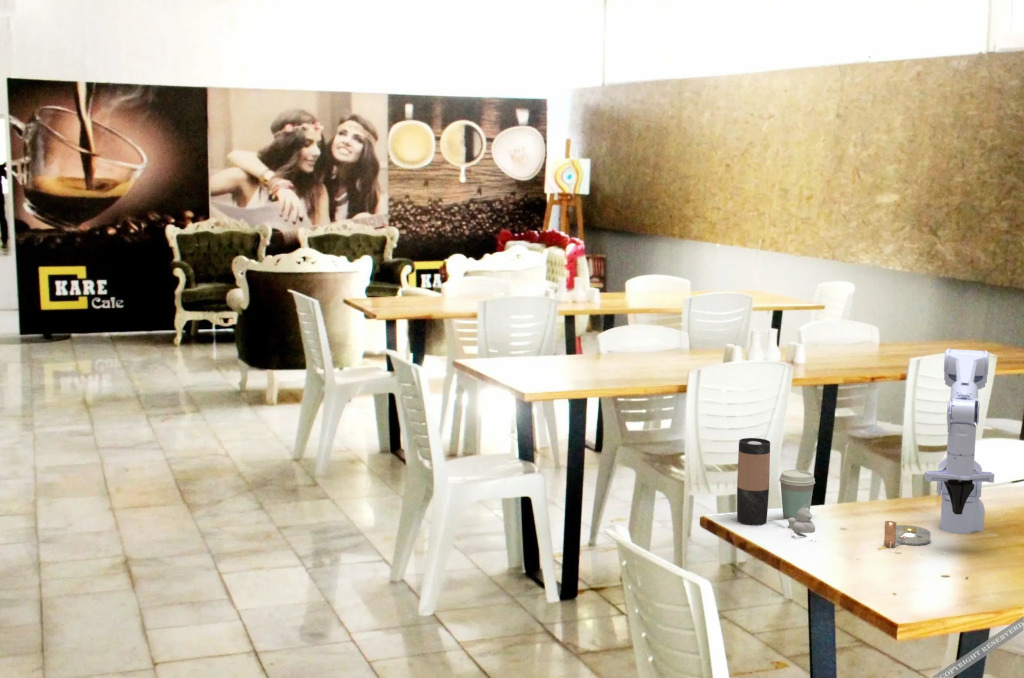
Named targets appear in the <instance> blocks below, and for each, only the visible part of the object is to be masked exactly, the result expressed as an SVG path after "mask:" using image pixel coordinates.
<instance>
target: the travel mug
mask: <svg viewBox="0 0 1024 678" xmlns="http://www.w3.org/2000/svg"><path fill="white" fill-rule="evenodd" d="M738 441H739V442H738V455H737V479H736V520H737V522H738V523H739V522H740V523H739V524H741V525H747V526H762V525H765V524H767V521H768V508H769V494H770V492H769V491H770V471H771V470H770V467H771V466H770V464H771V462H770V461H771V441H770V440H768V439H765V438H757V437H745V438H740V439H739V440H738Z"/></svg>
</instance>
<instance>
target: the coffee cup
mask: <svg viewBox="0 0 1024 678" xmlns="http://www.w3.org/2000/svg"><path fill="white" fill-rule="evenodd" d="M815 480H816V478H815V477H814V473H813V472H811V471H808V470H802V469H785V470H782V471H781V474H780V476H779V480H778V481H779V482H780V493H781V494H780V495H781V504H782V507H781V508H782V517H783V520H788V519H789V518H791V517H793V518H796V519H797V516H796V514H797V512H798V510H799V509H801V508H802V507H804V505H805V504H806V507H807V508H808V509H809V511H811V505H812V497H813V491H814V485H815V484H816V481H815Z"/></svg>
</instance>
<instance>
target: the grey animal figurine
mask: <svg viewBox="0 0 1024 678" xmlns="http://www.w3.org/2000/svg"><path fill="white" fill-rule="evenodd" d="M810 511H811V510H810ZM810 511H809V509H808V508H807V507H806V504H805V505H804V507H802V508H801V509H799V510H798V512H797V514H796V516H797V519H796V518H793V517H791V518H789V519H787V521H788V529H792V531H793V533H794V534H796V536H798V537H802V538H803V537H804V538H806V537H808V536H807V535H806V533H807V534H808V533H810V534H812V533H814V532H815V531H816V526H815V524H814V521H812V518H813V515H812V513H811V512H810Z"/></svg>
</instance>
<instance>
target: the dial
mask: <svg viewBox="0 0 1024 678" xmlns="http://www.w3.org/2000/svg"><path fill="white" fill-rule="evenodd" d="M931 535H932V534H931V531H930V530H928V529H927V528H924V527H921V526H916V525H906V524H900V525H899V524H898V525H897V522H896V521H892V520H886V521H885V522H884V537H883V539H884V540H883V546H885V547H887V548H886V549H893V548H896V547H898V546H900V545H905V546H926V545H928V544H930V542H931Z"/></svg>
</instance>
